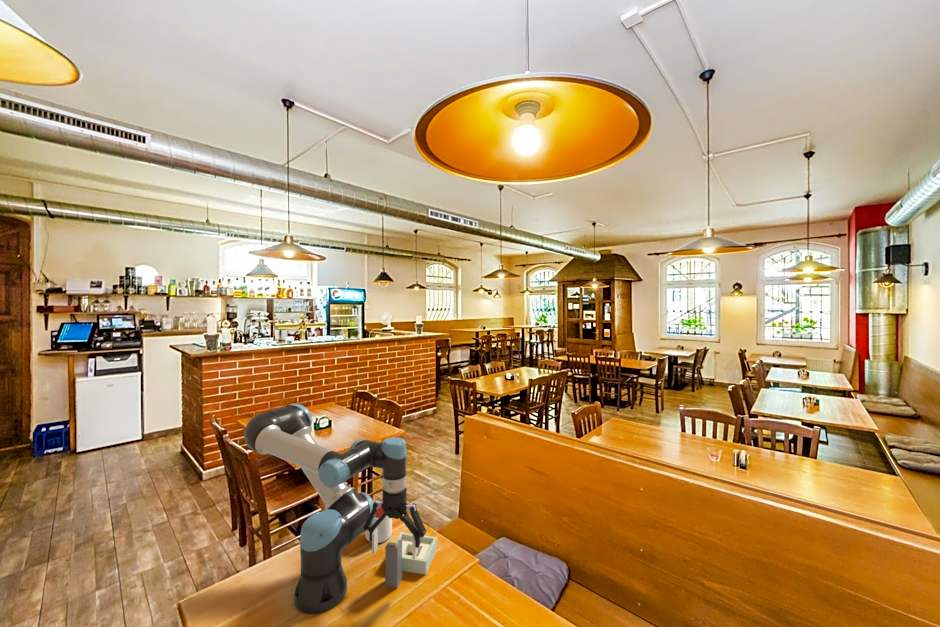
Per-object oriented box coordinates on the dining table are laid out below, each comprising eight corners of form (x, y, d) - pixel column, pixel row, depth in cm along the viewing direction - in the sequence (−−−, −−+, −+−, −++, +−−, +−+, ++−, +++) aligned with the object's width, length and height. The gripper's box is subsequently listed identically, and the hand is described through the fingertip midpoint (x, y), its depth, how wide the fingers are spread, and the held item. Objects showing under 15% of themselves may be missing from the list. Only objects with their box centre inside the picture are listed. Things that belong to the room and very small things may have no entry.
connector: (385, 586, 120) (385, 543, 119) (390, 577, 124) (390, 535, 123) (397, 588, 119) (397, 545, 118) (402, 579, 123) (402, 537, 122)
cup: (397, 534, 146) (397, 508, 146) (378, 548, 138) (378, 521, 138) (378, 525, 152) (378, 501, 151) (359, 538, 143) (359, 513, 143)
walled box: (386, 568, 128) (386, 555, 128) (400, 544, 140) (400, 532, 140) (425, 574, 125) (426, 561, 125) (437, 549, 138) (437, 537, 138)
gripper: (352, 490, 119) (353, 555, 120) (428, 498, 114) (428, 567, 115) (363, 479, 126) (364, 541, 127) (435, 486, 121) (435, 550, 122)
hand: (394, 553), depth 121 cm, fingers open, 13 cm apart
